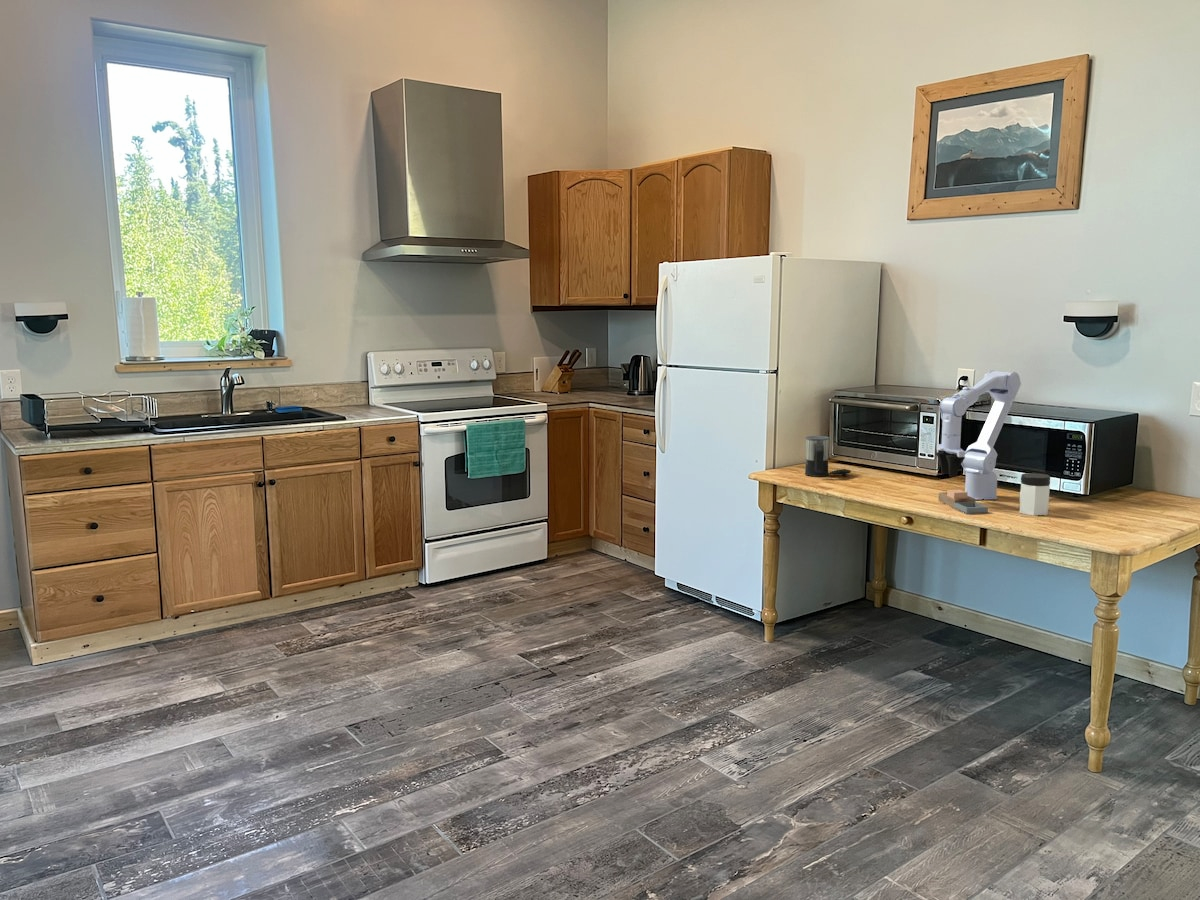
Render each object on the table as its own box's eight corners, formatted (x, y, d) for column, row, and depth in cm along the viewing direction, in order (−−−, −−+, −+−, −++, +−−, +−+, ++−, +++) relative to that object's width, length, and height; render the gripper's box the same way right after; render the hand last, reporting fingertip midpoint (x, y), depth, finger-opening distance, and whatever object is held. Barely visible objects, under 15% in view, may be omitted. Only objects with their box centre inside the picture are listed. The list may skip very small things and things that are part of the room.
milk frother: (800, 473, 341) (801, 436, 338) (838, 471, 343) (839, 434, 341) (815, 480, 327) (816, 441, 324) (854, 478, 330) (855, 439, 327)
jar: (1018, 508, 277) (1020, 471, 275) (1047, 510, 274) (1049, 473, 272) (1019, 515, 269) (1021, 477, 267) (1048, 517, 266) (1051, 479, 264)
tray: (974, 507, 280) (975, 501, 279) (987, 513, 272) (988, 507, 272) (954, 508, 279) (954, 502, 279) (966, 514, 272) (966, 508, 271)
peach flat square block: (960, 495, 284) (960, 489, 284) (967, 498, 280) (967, 492, 280) (947, 495, 284) (947, 489, 283) (954, 498, 279) (954, 492, 279)
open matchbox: (958, 500, 290) (958, 491, 289) (974, 507, 280) (975, 498, 279) (938, 501, 289) (938, 492, 289) (954, 508, 279) (954, 499, 278)
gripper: (928, 431, 290) (927, 471, 292) (950, 438, 276) (948, 479, 278) (948, 430, 291) (946, 470, 293) (971, 437, 276) (969, 479, 279)
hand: (949, 475), depth 285 cm, fingers open, 4 cm apart
